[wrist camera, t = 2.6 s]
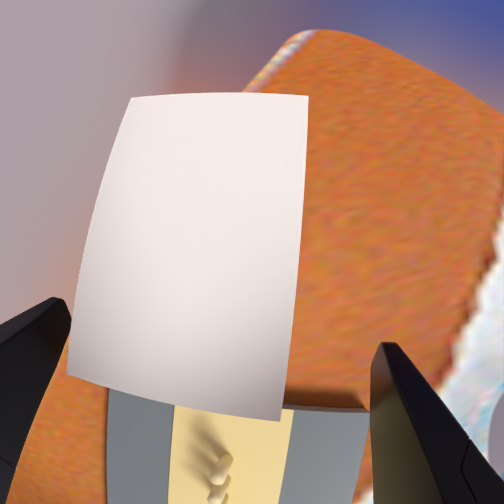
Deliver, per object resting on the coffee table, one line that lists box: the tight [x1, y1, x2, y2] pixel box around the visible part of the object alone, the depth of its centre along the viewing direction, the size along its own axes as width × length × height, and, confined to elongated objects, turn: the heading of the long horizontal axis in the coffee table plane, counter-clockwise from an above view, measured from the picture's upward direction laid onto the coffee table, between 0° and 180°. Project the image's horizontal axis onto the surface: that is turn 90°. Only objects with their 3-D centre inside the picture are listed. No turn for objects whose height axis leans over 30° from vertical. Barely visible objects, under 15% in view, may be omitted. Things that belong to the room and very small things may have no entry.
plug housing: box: [66, 93, 308, 422], centre depth 12 cm, size 6×4×12 cm, turn 173°
